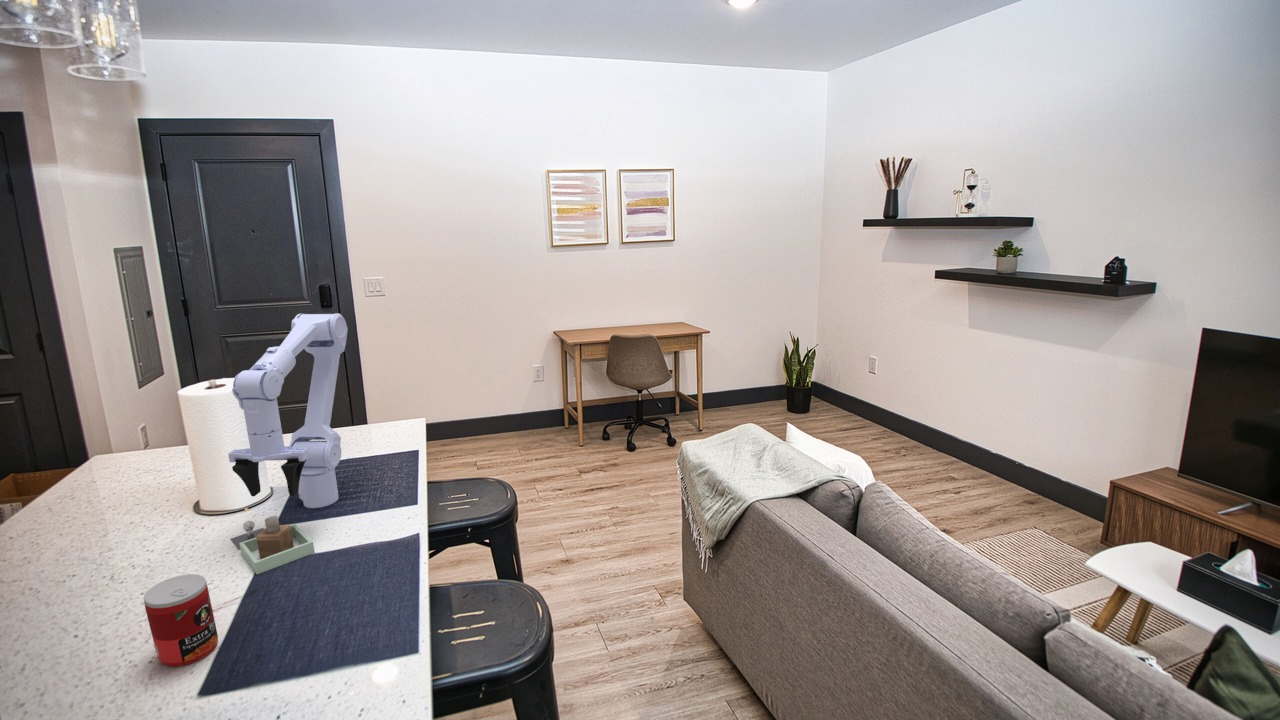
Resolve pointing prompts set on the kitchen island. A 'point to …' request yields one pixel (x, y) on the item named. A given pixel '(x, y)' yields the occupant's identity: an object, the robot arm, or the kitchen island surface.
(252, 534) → the stud plate
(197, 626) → the canned food
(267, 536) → the brown square bottle
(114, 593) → the kitchen island surface
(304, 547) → the bin
